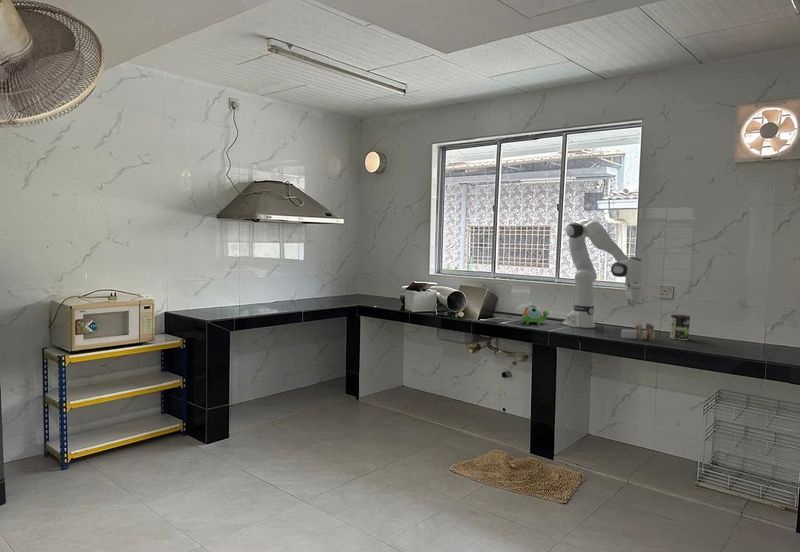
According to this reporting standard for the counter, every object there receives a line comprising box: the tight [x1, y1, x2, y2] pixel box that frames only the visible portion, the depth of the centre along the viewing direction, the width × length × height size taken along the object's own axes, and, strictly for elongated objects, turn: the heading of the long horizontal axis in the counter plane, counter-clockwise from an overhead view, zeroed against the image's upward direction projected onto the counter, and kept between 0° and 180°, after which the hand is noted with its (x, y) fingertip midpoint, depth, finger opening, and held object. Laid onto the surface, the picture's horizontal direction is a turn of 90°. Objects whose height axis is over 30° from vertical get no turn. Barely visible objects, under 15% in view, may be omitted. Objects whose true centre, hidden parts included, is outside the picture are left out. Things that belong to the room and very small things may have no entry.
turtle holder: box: [521, 305, 550, 325], centre depth 382 cm, size 12×18×12 cm
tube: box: [620, 329, 656, 341], centre depth 334 cm, size 18×5×5 cm, turn 79°
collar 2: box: [644, 322, 655, 341], centre depth 333 cm, size 2×11×8 cm, turn 169°
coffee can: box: [669, 314, 691, 341], centre depth 335 cm, size 10×10×14 cm
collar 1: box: [634, 322, 644, 341], centre depth 334 cm, size 2×11×8 cm, turn 169°
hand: (630, 306), depth 339 cm, fingers open, 8 cm apart
